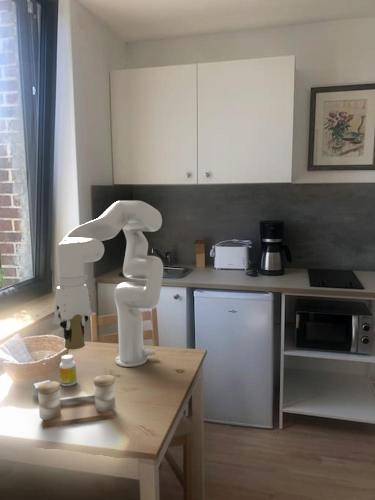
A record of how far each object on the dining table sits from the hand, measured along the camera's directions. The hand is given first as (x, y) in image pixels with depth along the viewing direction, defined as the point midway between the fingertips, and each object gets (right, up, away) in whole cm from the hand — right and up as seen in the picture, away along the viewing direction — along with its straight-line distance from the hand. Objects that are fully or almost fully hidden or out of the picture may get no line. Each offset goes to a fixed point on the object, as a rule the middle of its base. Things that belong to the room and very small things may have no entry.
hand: (74, 338), depth 133 cm
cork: (0, -2, 0) cm, 3 cm away
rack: (+2, -22, -3) cm, 23 cm away
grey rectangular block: (-13, -21, +9) cm, 26 cm away
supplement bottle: (-7, -19, +18) cm, 27 cm away
